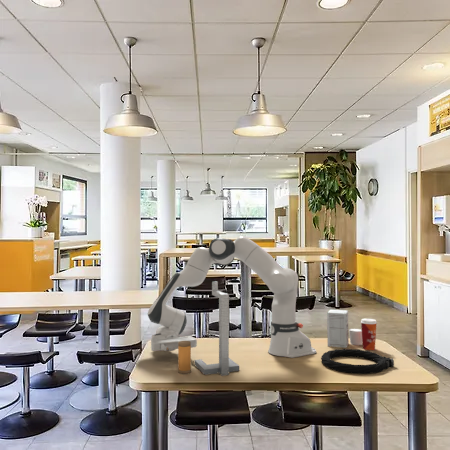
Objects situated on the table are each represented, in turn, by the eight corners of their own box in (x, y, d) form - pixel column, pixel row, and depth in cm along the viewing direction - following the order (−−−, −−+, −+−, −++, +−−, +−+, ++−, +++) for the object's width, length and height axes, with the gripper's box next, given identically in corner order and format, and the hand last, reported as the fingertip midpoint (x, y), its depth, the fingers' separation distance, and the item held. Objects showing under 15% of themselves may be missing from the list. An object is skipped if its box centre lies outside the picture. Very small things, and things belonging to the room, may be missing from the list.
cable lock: (320, 346, 211) (388, 349, 205) (320, 354, 211) (388, 358, 205) (321, 363, 184) (399, 368, 178) (321, 373, 184) (399, 378, 178)
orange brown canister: (188, 369, 187) (188, 340, 187) (192, 373, 182) (192, 343, 182) (177, 370, 185) (177, 341, 185) (180, 374, 180) (180, 344, 180)
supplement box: (348, 343, 229) (349, 310, 229) (346, 348, 220) (346, 313, 220) (329, 341, 232) (329, 309, 232) (326, 346, 224) (326, 312, 224)
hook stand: (217, 365, 193) (217, 281, 193) (228, 374, 180) (228, 285, 180) (210, 365, 192) (210, 281, 192) (221, 375, 179) (221, 285, 179)
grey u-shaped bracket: (227, 361, 199) (227, 356, 199) (239, 370, 185) (239, 365, 185) (194, 364, 193) (194, 359, 193) (204, 374, 180) (204, 369, 180)
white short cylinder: (346, 342, 231) (346, 329, 231) (357, 341, 233) (357, 327, 233) (355, 346, 224) (355, 331, 224) (366, 344, 227) (366, 330, 227)
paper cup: (371, 351, 214) (371, 322, 214) (357, 348, 220) (357, 319, 220) (380, 348, 219) (380, 319, 219) (366, 345, 225) (366, 317, 225)
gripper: (192, 345, 210) (201, 353, 197) (148, 349, 203) (154, 357, 190) (192, 331, 210) (201, 338, 197) (148, 335, 203) (154, 342, 190)
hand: (177, 348), depth 194 cm, fingers open, 8 cm apart
